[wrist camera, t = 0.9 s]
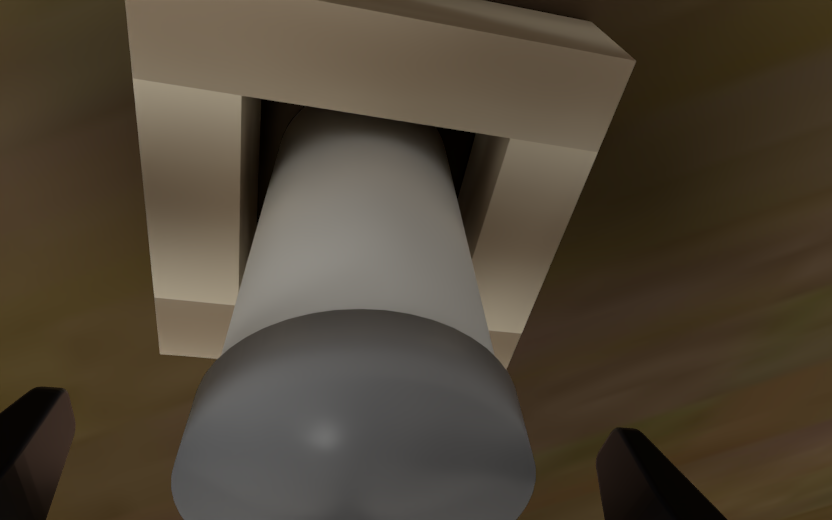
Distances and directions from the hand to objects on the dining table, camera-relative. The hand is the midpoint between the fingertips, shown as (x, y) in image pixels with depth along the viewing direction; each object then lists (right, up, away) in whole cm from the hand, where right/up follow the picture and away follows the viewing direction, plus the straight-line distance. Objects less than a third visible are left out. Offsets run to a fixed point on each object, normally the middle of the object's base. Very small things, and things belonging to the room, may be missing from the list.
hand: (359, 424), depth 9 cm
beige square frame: (-1, +5, +7) cm, 9 cm away
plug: (-1, +5, +7) cm, 9 cm away
